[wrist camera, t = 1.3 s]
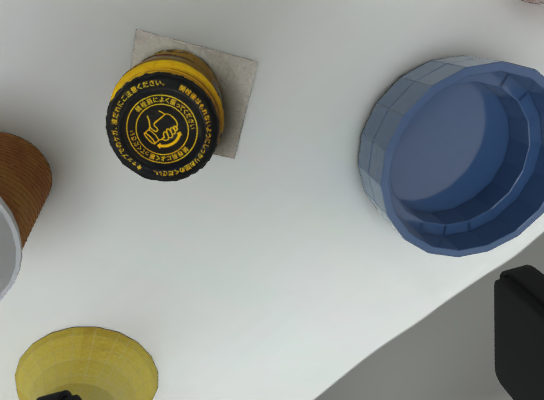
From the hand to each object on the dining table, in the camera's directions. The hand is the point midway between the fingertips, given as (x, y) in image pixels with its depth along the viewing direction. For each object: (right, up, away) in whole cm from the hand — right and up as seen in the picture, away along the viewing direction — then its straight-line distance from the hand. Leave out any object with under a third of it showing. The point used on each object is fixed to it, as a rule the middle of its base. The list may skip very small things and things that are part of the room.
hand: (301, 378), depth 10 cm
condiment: (-7, +11, +22) cm, 26 cm away
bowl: (+13, +8, +26) cm, 31 cm away
